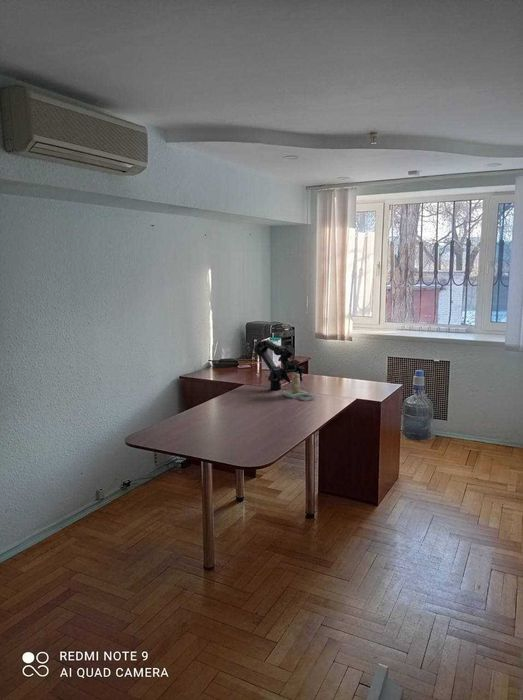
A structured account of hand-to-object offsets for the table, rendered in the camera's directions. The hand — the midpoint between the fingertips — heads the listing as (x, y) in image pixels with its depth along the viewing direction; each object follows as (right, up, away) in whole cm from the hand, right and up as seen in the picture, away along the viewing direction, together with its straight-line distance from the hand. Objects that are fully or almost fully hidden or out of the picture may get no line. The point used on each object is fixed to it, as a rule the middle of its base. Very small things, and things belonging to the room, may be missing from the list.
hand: (295, 382), depth 327 cm
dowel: (0, -8, +1) cm, 8 cm away
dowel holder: (+6, -10, -8) cm, 14 cm away
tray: (0, -9, +1) cm, 9 cm away
